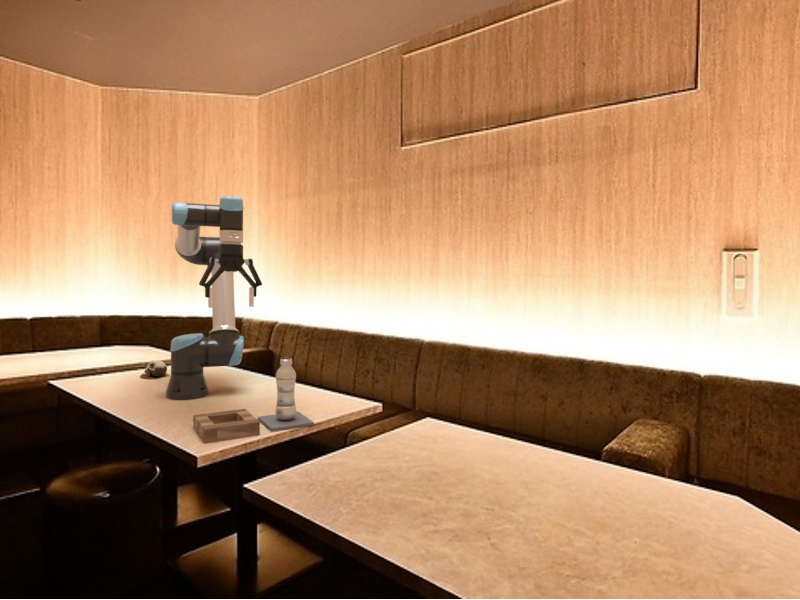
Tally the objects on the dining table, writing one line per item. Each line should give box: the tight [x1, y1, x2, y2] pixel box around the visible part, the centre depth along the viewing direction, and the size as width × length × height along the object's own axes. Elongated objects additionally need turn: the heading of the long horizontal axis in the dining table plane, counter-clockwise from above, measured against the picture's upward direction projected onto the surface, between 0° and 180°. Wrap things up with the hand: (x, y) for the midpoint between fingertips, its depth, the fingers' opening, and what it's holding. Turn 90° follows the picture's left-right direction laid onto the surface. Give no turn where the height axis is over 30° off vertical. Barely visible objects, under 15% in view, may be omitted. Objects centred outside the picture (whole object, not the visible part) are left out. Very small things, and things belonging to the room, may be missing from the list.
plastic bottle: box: [275, 357, 297, 420], centre depth 172 cm, size 6×7×20 cm
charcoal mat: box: [257, 410, 315, 432], centre depth 173 cm, size 14×14×1 cm
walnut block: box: [192, 408, 261, 444], centre depth 163 cm, size 16×16×4 cm
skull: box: [139, 359, 171, 380], centre depth 236 cm, size 12×10×10 cm
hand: (231, 307), depth 179 cm, fingers open, 13 cm apart
